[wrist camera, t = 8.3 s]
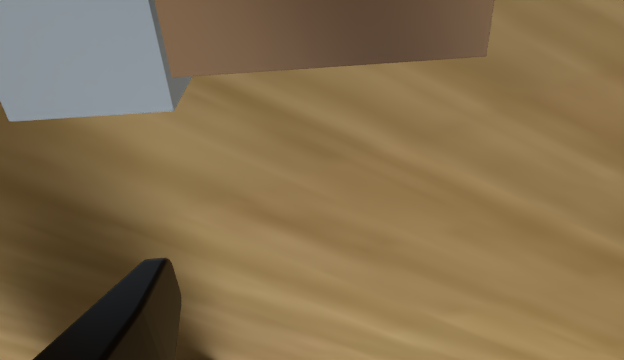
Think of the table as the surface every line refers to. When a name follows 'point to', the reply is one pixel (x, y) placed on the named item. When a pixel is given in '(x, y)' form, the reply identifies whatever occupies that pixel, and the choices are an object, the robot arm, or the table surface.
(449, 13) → the walnut cube
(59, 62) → the slate cube
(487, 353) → the table surface
